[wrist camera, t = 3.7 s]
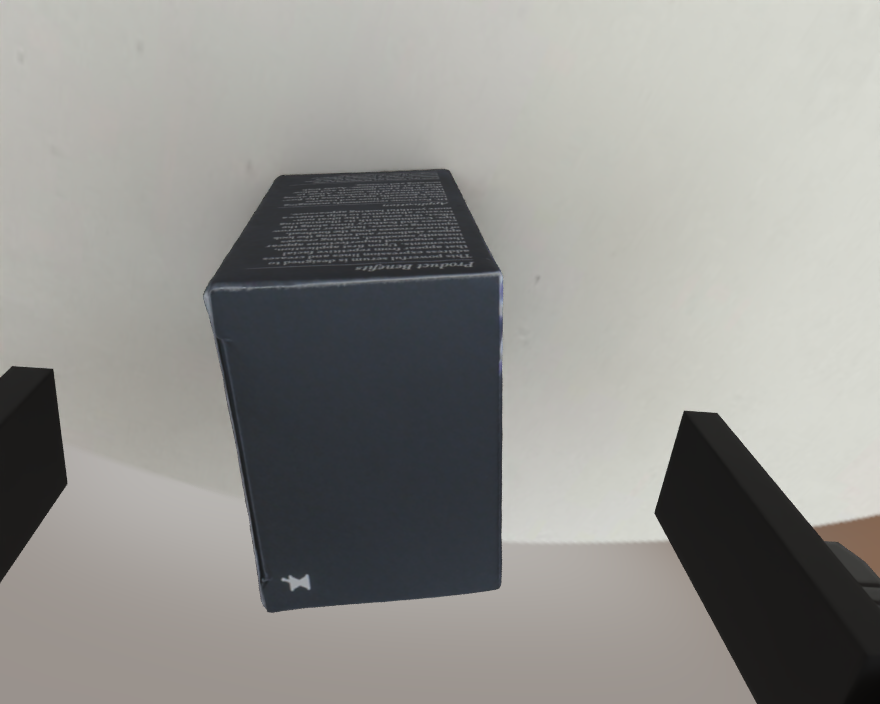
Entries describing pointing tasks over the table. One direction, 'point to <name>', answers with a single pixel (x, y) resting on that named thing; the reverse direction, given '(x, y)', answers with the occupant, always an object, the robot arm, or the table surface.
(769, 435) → the table surface
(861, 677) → the robot arm
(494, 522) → the box
